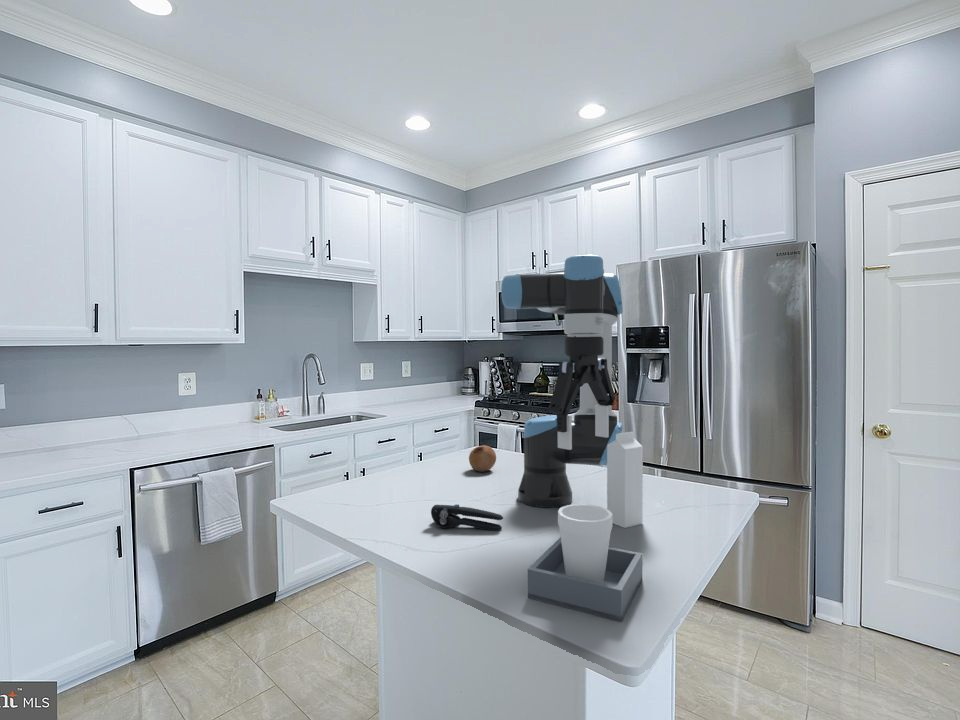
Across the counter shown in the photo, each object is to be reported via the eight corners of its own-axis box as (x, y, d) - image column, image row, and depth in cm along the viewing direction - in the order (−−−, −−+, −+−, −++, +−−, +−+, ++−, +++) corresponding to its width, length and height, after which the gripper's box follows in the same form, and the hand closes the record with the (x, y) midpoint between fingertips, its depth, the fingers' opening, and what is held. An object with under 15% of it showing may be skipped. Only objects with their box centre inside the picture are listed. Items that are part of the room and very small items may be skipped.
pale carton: (642, 524, 123) (643, 433, 122) (624, 528, 120) (625, 435, 119) (624, 516, 128) (625, 429, 127) (606, 520, 125) (607, 431, 124)
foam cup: (557, 595, 87) (557, 520, 86) (558, 571, 96) (557, 503, 95) (615, 599, 85) (615, 522, 85) (609, 574, 94) (609, 505, 94)
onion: (480, 482, 171) (473, 458, 167) (467, 469, 179) (461, 446, 175) (503, 469, 175) (498, 446, 170) (490, 457, 183) (484, 434, 178)
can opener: (426, 530, 120) (426, 506, 120) (435, 520, 127) (435, 498, 127) (500, 536, 116) (499, 512, 116) (505, 525, 123) (505, 502, 123)
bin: (527, 597, 87) (527, 569, 87) (560, 562, 101) (559, 537, 101) (621, 621, 80) (621, 590, 80) (642, 580, 94) (642, 553, 93)
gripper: (563, 337, 88) (564, 457, 89) (631, 334, 106) (631, 434, 107) (529, 337, 93) (530, 450, 95) (600, 334, 111) (600, 429, 113)
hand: (584, 442), depth 101 cm, fingers open, 13 cm apart
